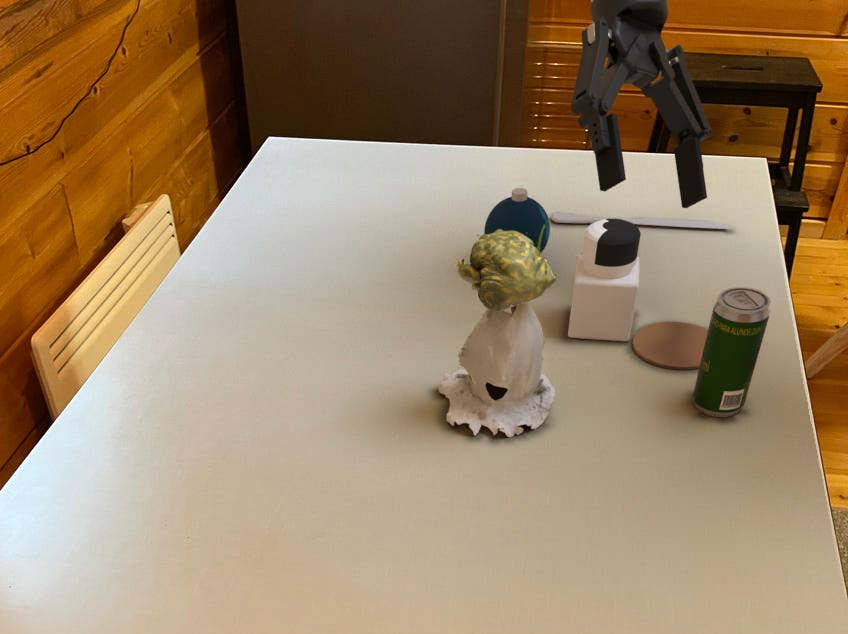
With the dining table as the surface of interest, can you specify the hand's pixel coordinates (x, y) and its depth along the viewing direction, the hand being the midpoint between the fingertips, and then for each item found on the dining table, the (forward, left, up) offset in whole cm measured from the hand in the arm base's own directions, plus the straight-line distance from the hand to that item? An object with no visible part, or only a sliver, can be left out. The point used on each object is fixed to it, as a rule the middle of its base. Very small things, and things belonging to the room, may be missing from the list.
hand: (655, 194), depth 101 cm
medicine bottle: (+3, -3, -17) cm, 17 cm away
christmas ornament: (+10, -21, -17) cm, 29 cm away
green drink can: (-5, +15, -17) cm, 23 cm away
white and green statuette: (+19, +11, -17) cm, 27 cm away
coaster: (-4, +3, -17) cm, 17 cm away
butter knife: (-10, -29, -17) cm, 35 cm away
